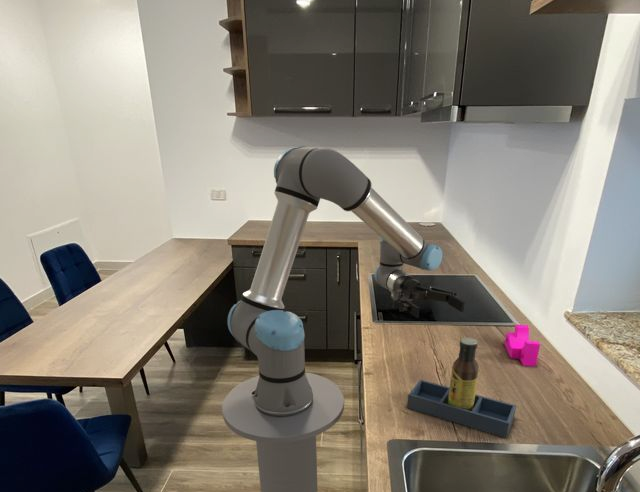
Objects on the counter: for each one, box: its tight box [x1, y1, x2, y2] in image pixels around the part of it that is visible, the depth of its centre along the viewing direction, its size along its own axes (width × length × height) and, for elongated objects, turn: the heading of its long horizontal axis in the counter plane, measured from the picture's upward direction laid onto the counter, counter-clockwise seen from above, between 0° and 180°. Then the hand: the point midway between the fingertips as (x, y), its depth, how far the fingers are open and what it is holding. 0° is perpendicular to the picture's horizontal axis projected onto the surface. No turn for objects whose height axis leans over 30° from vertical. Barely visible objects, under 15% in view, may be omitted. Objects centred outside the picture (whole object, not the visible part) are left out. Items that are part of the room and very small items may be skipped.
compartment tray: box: [406, 379, 517, 439], centre depth 112 cm, size 25×9×4 cm, turn 60°
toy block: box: [503, 324, 541, 367], centre depth 142 cm, size 15×6×8 cm, turn 173°
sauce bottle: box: [448, 337, 479, 411], centre depth 109 cm, size 6×6×20 cm
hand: (440, 309), depth 117 cm, fingers open, 13 cm apart
